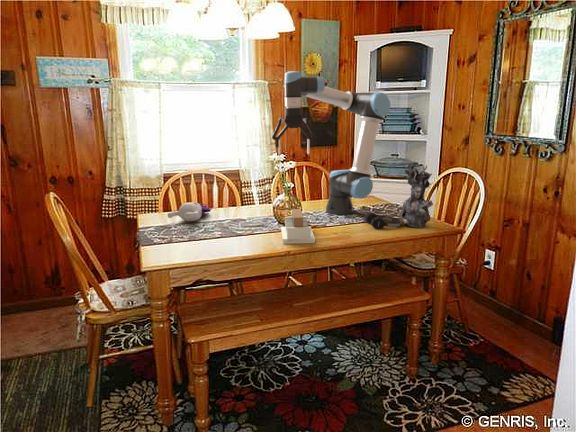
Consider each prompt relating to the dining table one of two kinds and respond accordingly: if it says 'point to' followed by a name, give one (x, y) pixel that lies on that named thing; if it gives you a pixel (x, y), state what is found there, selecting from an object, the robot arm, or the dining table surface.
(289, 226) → the stand
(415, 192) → the sculpture
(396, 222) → the headset
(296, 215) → the tan wooden plank
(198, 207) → the figurine
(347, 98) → the robot arm
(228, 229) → the dining table surface
